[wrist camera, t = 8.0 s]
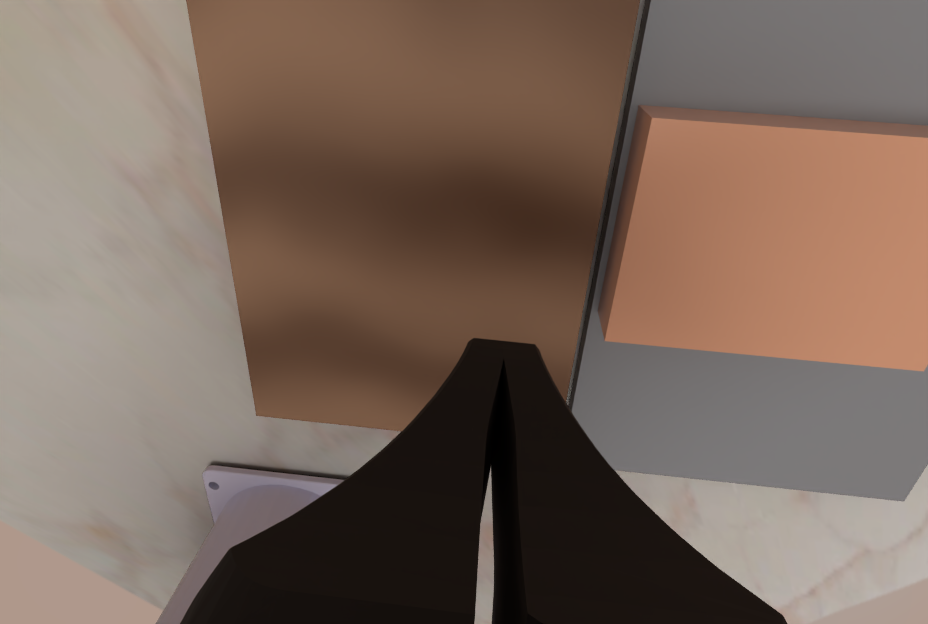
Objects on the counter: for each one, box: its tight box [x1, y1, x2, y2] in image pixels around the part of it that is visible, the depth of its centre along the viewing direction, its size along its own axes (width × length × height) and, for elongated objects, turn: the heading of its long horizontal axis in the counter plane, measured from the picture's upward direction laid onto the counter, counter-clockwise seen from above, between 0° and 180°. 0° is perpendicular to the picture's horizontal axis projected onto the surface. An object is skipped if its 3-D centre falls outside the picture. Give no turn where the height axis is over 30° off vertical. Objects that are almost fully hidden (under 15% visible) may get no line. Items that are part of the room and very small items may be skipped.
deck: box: [186, 0, 640, 431], centre depth 18 cm, size 18×12×2 cm, turn 177°
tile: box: [598, 105, 928, 371], centre depth 17 cm, size 7×10×2 cm
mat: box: [569, 0, 928, 501], centre depth 18 cm, size 22×14×1 cm, turn 177°
